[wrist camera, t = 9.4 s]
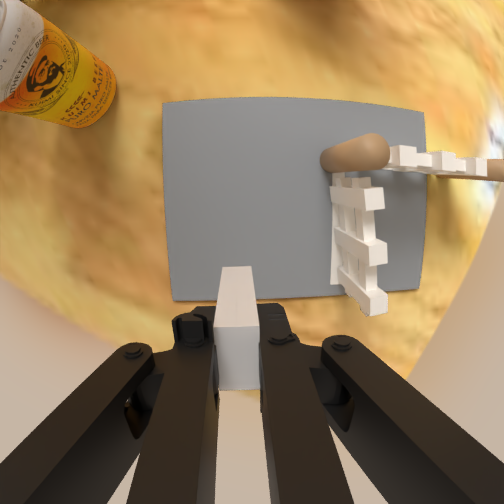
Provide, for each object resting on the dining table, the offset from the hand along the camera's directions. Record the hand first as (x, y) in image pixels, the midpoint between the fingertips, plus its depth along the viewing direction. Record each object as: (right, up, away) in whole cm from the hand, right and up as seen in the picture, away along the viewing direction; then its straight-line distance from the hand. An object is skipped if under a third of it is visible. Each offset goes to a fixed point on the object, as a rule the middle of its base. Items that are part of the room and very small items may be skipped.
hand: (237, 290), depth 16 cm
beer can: (-13, +15, +5) cm, 21 cm away
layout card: (+5, +6, +7) cm, 11 cm away
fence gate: (+8, +3, +7) cm, 11 cm away
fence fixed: (+12, +9, +7) cm, 17 cm away
